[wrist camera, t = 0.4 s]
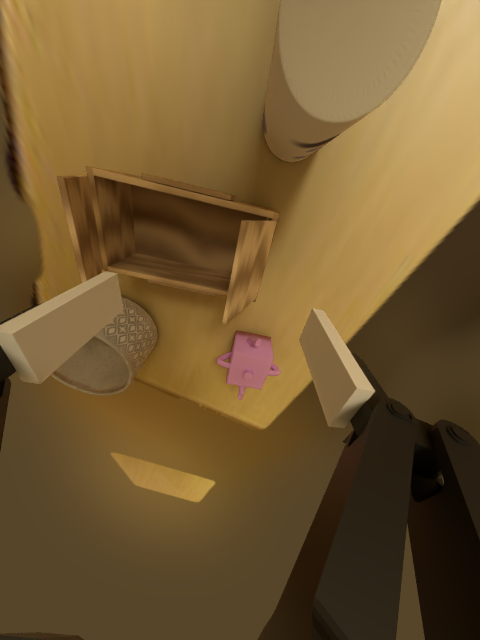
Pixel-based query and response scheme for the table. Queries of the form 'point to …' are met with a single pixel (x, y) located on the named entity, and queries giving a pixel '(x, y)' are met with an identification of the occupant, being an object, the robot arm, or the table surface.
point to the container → (338, 66)
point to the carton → (169, 230)
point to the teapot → (249, 361)
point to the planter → (111, 354)
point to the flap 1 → (81, 224)
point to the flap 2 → (248, 265)
